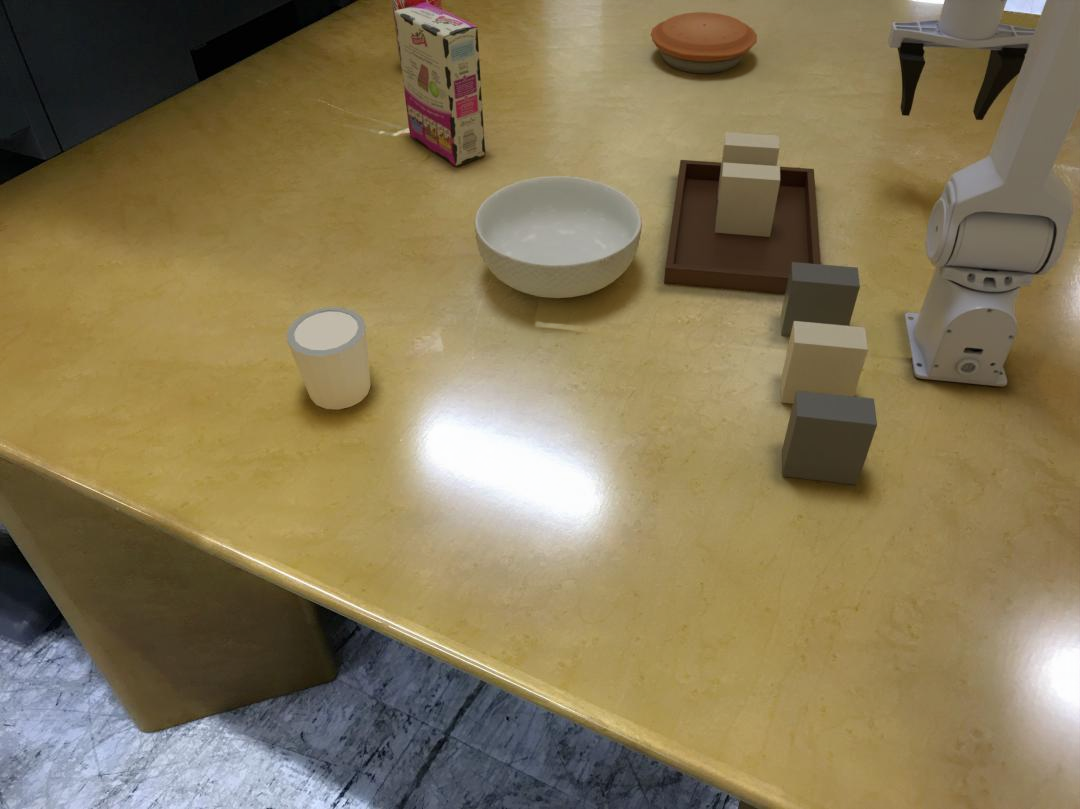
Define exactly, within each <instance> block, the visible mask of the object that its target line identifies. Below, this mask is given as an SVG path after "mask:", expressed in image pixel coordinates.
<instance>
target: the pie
mask: <svg viewBox="0 0 1080 809" xmlns="http://www.w3.org/2000/svg"><path fill="white" fill-rule="evenodd" d="M650 32H651V33H650V37H651V40H652V42H653V44H654V45H655V46H656V48H658V51H659V54H660V55H661V57H662V59H663V61H664V62H665V63H666V64H667V65H668V66H669V67H672V68H674V69H676V70H678V71H682V72H685V73H692V74H717V73H721V72H725V71H728V70H730V69H732V68H734V67H735V66H736V65H738V63H739V62H740V61H741V59H742V58H743V57H744V55H745V54H746V53H747V52H749V50H751V49H752V48H753V47H754V46H755V44H757V42H758V35H757V33H756V31H755V29H753V28H752V27H751V26H749V25H748V24H746V23H745V22H742V21H741V20H740V19H738V18H736V17H733V16H731V15H726V14H722V13H716V12H707V11H705V12H703V11H702V12H701V11H699V12H698V11H697V12H687V13H686V12H685V13H681V14H676V15H673V16H671V17H669V18H667V19H665V20H663V21H661V22H659V23H658V24H656V25H655V26H654V27H652V29H651V31H650Z"/></svg>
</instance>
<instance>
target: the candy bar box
mask: <svg viewBox="0 0 1080 809" xmlns="http://www.w3.org/2000/svg"><path fill="white" fill-rule="evenodd" d="M394 13H395V19H396V26H397V35H398V42H399V52H400V57H399V60H400V59H401V61H400V67H401V74H402V83H403V90H404V98H405V108H406V115H407V122H408V123H407V124H408V131H409V137H410V138H412V139H413V140H415V141H416V142H418V143H419V144H421V145H423V146H424V147H426V148H427V149H429V150H430V151H432V152H434V153H435V154H437V155H438V156H440V157H441V158H442V159H445V160H446V161H448V162H449V163H450V164H452V165H454V166H455V167H458V166H462V165H463V164H466V163H469V162H472V161H475V160H478V159H480V158H483V157H485V156H486V144H485V127H484V126H485V125H484V114H483V113H484V112H483V98H482V97H483V96H482V80H481V79H482V78H481V64H480V46H479V31H478V28H479V27H478V25H475V24H473V23H471V22H469V21H467V20H465V19H463V18H460V17H458V16H456V15H454V14H452V13H450V12H449V11H446V10H444V9H442V10H441V9H439V8H437V7H435V6H433V5H431V4H429V3H427V2H425V3H421V4H417V5H413V6H410V7H407V8H403V9H400V10H396V11H394ZM399 52H398V53H399Z"/></svg>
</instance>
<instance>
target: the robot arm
mask: <svg viewBox="0 0 1080 809" xmlns="http://www.w3.org/2000/svg"><path fill="white" fill-rule="evenodd" d="M1007 1H1008V0H944V1H943V4H942V8H941V12H940V15H939V18H938V19H930V20H928V19H927V20H919V21H906V22H903V21H902V22H900V21H898V22H895V21H894V22H891V27H890V31H889V35H888V39H887V41H888V46H889V48H891V49H897V53H898V58H899V64H900V74H901V102H900V106H899V107H900V112H901V115H902V116H903V117H905V116H907V117H909V116H910V114H911V111H912V109H913V104H914V99H915V94H916V90H917V86H918V83H919V81H920V78H921V75H922V72H923V70H924V67H925V66H926V60H925V52H926V51H925V49H924V48H939V49H941V48H944V49H962V50H963V49H964V50H981V51H983V50H984V51H990V52H989V57H988V61H987V66H986V70H985V73H984V77H983V80H982V83H981V86H980V89H979V91H978V94H977V96H976V99H975V102H974V106H973V111H972V112H973V115H974V118H975V120H976V121H983V120H984V119H985V116H986V115H987V113H988V111H989V110H990V108H991V107H992V105H993V103H994V102H995V101H996V99H997V98H998V96H999V95H1000V94H1001V92H1002V91H1003V90H1005V88H1006V87H1007V86H1008V85H1009V83H1011V81H1012V80H1014V79H1015V78H1016V76H1017V79H1016V81H1015V84H1014V86H1013V89H1012V92H1011V94H1010V97H1009V100H1008V103H1007V105H1006V108H1005V110H1004V113H1003V116H1002V119H1001V120H1000V124H999V127H998V128H997V133H996V135H995V137H994V141H993V144H992V146H991V149H990V151H989V154H988V155H987V156H985V157H983V158H982V159H980V160H978V161H976V162H974V163H972V164H970V165H968V166H966V167H964V168H962V169H960V170H957V171H956V172H954V173H952V174H951V175H950V177H949V179H948V181H947V182H946V183H945V185H944V189H943V191H942V193H941V195H940V197H939V199H938V200H937V201H936V202H935V203H934V204H933V207H932V209H931V213H930V215H929V220H928V224H927V228H926V237H925V252H926V256H927V258H928V260H929V261H930V264H931V265H932V266H933V267H935V268H934V271H933V274H932V276H931V280H930V283H929V286H928V288H927V291H926V294H925V297H924V299H923V303H922V306H921V309H920V312H906V313H905V314H904V318H905V323H906V330H907V335H908V341H909V346H910V352H911V356H912V357H910V360H911V365H912V369H913V371H912V372H913V375H914V376H915V377H916V378H917V379H921V380H931V381H942V382H953V383H962V384H973V385H983V386H990V387H991V386H993V387H1000V388H1001V387H1002V388H1003V387H1006V386H1007V384H1008V379H1007V375H1006V372H1005V368H1004V365H1005V362H1006V361H1007V358H1008V356H1009V354H1010V352H1011V349H1012V348H1013V345H1014V343H1015V341H1016V338H1017V335H1018V331H1019V330H1018V329H1019V328H1018V321H1017V316H1016V302H1017V298H1018V295H1019V293H1020V291H1021V289H1022V287H1030V286H1031V284H1032V283H1033V280H1034V278H1035V276H1044V275H1046V274H1047V273H1049V272H1050V271H1051V269H1053V268H1054V267H1055V266H1056V265H1057V263H1058V262H1059V260H1060V258H1061V257H1062V255H1063V252H1064V249H1065V245H1066V241H1067V237H1068V229H1069V226H1070V223H1071V221H1072V218H1073V216H1074V213H1075V207H1074V201H1073V196H1072V192H1071V190H1070V187H1069V186H1068V184H1066V183H1065V181H1064V180H1063V179H1062V178H1061V177H1060V176H1059V175H1058V174H1057V173H1056V172H1055V171H1054V170H1053V169H1054V167H1055V164H1056V162H1057V160H1058V158H1059V155H1060V153H1061V150H1062V148H1063V146H1064V144H1065V142H1066V140H1067V137H1068V134H1069V132H1070V130H1071V128H1072V125H1073V123H1074V121H1075V119H1076V116H1077V114H1078V112H1079V110H1080V0H1045V3H1044V5H1043V8H1042V11H1041V13H1040V16H1039V19H1038V22H1037V25H1036V26H1035V28H1034V27H1033V28H1031V27H1023V26H1018V25H1017V26H1016V25H1012V24H1011V25H1010V24H1005V23H1001V19H1002V16H1003V14H1004V10H1005V8H1006V4H1007ZM909 318H911V319H909Z"/></svg>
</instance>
